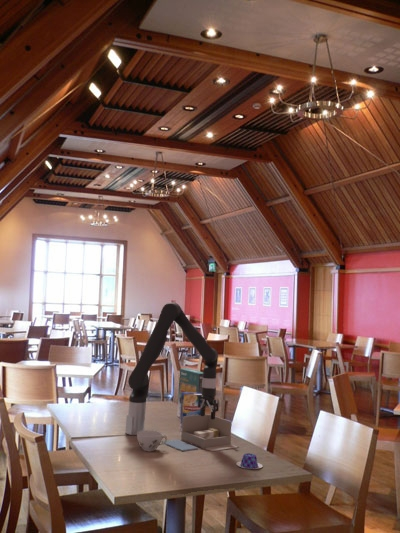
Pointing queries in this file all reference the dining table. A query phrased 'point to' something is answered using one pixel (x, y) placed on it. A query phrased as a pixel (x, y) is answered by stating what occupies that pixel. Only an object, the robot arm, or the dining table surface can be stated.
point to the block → (207, 433)
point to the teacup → (150, 439)
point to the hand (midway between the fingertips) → (207, 417)
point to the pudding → (249, 461)
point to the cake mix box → (189, 384)
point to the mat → (180, 445)
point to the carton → (206, 423)
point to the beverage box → (189, 406)
